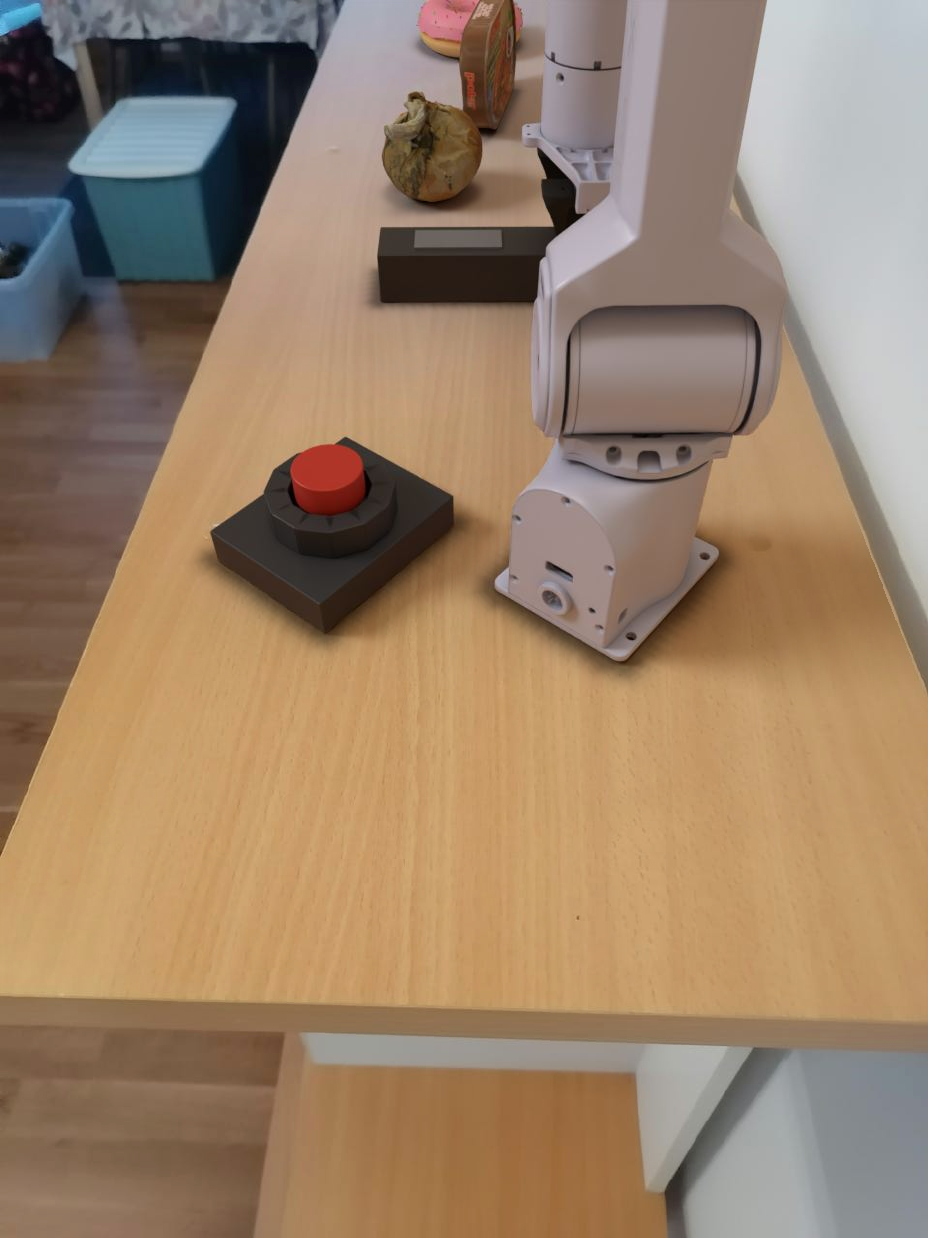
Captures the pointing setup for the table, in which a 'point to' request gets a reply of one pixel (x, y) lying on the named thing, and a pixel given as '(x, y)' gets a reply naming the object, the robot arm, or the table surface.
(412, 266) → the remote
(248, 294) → the table surface
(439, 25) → the doughnut
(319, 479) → the button
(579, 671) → the table surface
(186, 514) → the table surface
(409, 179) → the onion
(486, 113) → the tin
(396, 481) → the button block
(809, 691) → the table surface
